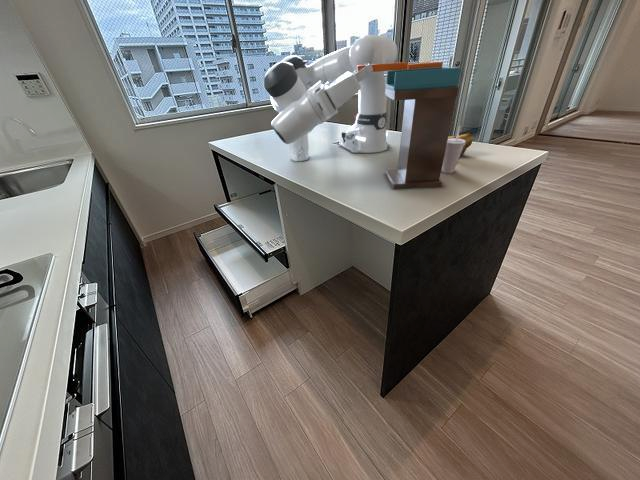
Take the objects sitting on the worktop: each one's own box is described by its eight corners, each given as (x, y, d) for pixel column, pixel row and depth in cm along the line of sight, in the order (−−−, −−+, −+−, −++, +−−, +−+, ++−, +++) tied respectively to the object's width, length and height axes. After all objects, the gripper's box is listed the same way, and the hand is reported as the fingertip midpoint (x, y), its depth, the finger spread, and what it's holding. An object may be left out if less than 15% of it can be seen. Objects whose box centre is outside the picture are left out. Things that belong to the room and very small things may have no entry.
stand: (386, 190, 77) (395, 91, 63) (379, 174, 88) (385, 87, 73) (441, 187, 76) (463, 86, 62) (427, 172, 87) (443, 82, 72)
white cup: (305, 162, 103) (303, 135, 98) (287, 161, 106) (284, 135, 100) (312, 156, 110) (310, 131, 104) (295, 155, 112) (292, 131, 106)
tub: (394, 90, 64) (395, 72, 61) (385, 87, 73) (387, 71, 70) (457, 86, 63) (461, 67, 60) (441, 83, 72) (443, 66, 70)
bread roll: (443, 161, 94) (447, 138, 89) (425, 155, 102) (429, 133, 97) (471, 156, 97) (477, 133, 93) (452, 149, 105) (457, 128, 100)
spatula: (358, 73, 64) (358, 65, 63) (356, 72, 69) (356, 65, 68) (442, 67, 63) (443, 59, 62) (433, 66, 68) (434, 59, 67)
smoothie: (460, 174, 83) (472, 127, 75) (439, 174, 84) (448, 128, 77) (456, 167, 88) (466, 123, 80) (435, 167, 90) (444, 123, 82)
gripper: (330, 106, 80) (370, 76, 75) (330, 117, 63) (383, 81, 59) (318, 86, 77) (360, 54, 73) (316, 93, 60) (370, 52, 56)
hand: (370, 66), depth 65 cm, fingers closed on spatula, 3 cm apart
